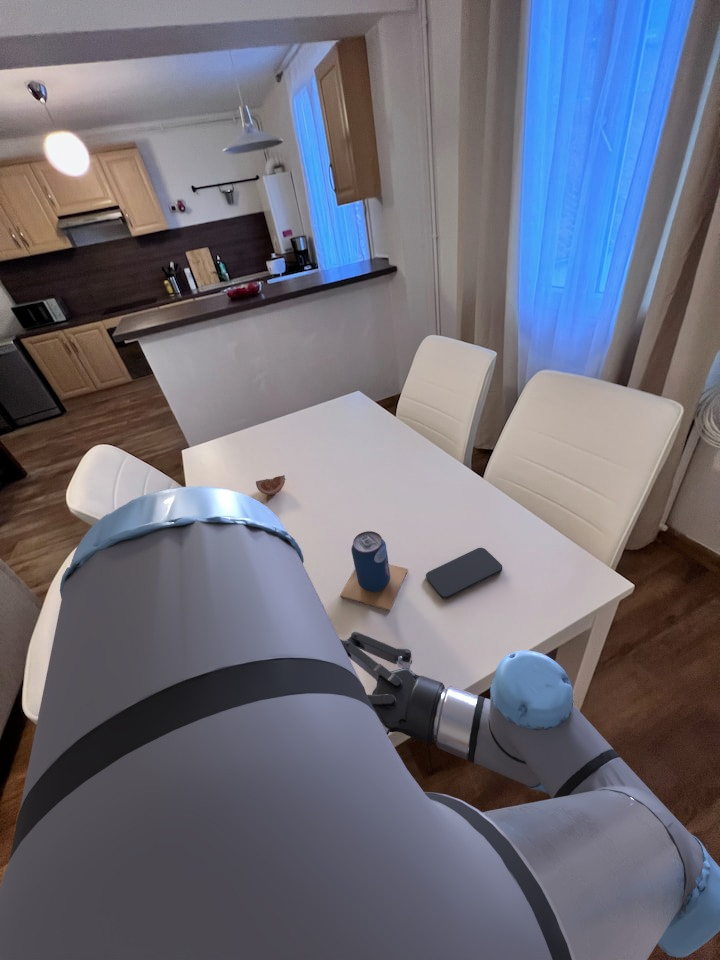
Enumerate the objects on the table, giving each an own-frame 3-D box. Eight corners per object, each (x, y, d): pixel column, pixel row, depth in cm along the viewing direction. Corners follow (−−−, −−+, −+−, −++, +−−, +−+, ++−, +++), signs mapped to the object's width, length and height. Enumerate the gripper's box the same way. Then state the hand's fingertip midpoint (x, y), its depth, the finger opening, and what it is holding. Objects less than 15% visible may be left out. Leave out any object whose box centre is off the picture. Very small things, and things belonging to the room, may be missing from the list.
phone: (423, 573, 85) (481, 545, 88) (423, 576, 85) (481, 548, 89) (443, 598, 79) (505, 567, 83) (443, 601, 79) (504, 570, 83)
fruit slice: (287, 482, 121) (283, 468, 118) (289, 495, 115) (284, 481, 112) (260, 488, 120) (255, 475, 117) (260, 502, 114) (255, 488, 111)
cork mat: (390, 611, 79) (389, 609, 79) (340, 597, 84) (340, 595, 83) (407, 570, 87) (407, 568, 87) (361, 559, 92) (361, 557, 91)
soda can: (397, 584, 84) (392, 543, 77) (368, 600, 81) (360, 560, 74) (380, 564, 89) (373, 524, 82) (352, 578, 87) (343, 538, 80)
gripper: (419, 808, 49) (265, 732, 58) (456, 663, 62) (327, 621, 72) (416, 785, 44) (250, 708, 53) (457, 635, 58) (319, 594, 67)
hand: (294, 658), depth 62 cm, fingers closed on drinking glass, 6 cm apart
